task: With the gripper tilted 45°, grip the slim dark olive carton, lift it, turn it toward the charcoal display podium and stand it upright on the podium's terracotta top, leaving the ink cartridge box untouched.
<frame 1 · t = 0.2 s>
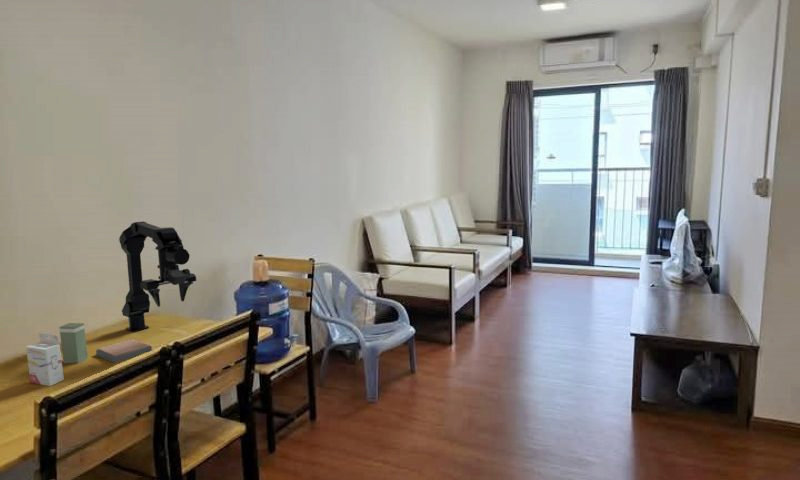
hand: (170, 303, 194), 15 cm above the table, tool pointing down, fingers open, 9 cm apart
display podium: (124, 353, 185), on the table
ink cartridge box: (47, 382, 161), on the table
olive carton: (75, 360, 179), on the table
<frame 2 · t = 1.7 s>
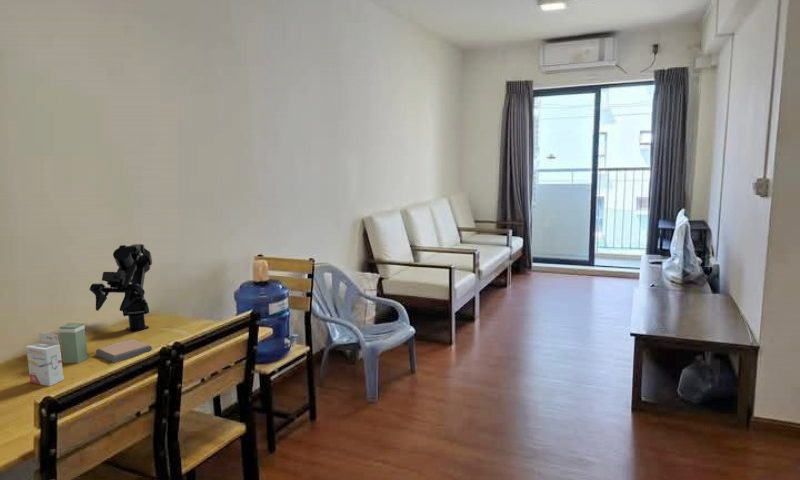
hand: (108, 310, 190), 14 cm above the table, tool tilted 45°, fingers open, 9 cm apart
nothing on the table moved.
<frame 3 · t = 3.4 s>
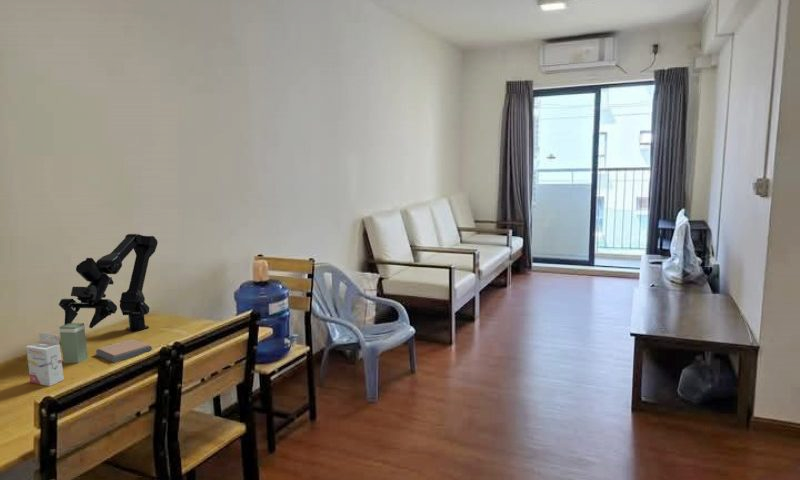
hand: (77, 327, 180), 11 cm above the table, tool tilted 45°, fingers open, 9 cm apart
nothing on the table moved.
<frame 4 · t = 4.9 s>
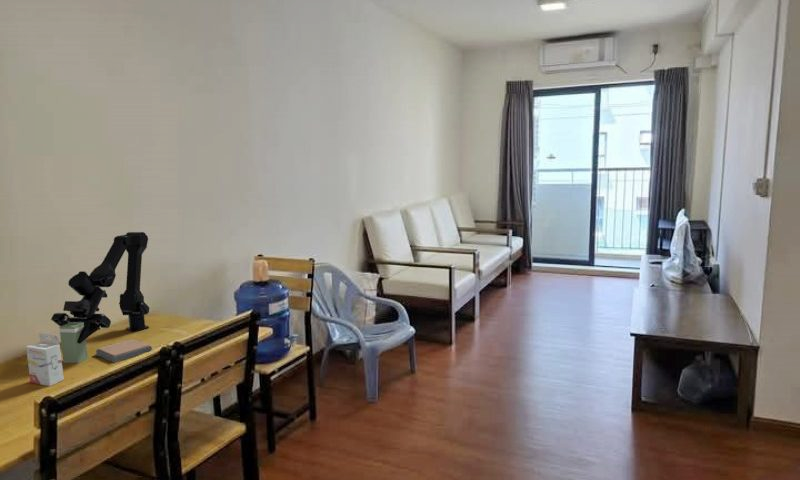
hand: (70, 342, 176), 7 cm above the table, tool tilted 45°, fingers closed on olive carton, 5 cm apart
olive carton: (75, 360, 179), on the table, touching gripper
everything else where it was.
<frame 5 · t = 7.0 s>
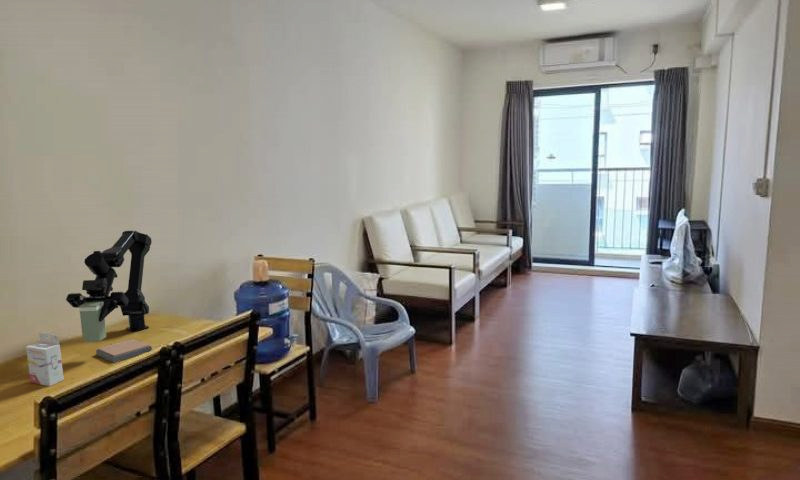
hand: (90, 321, 178), 13 cm above the table, tool tilted 45°, fingers closed on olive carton, 5 cm apart
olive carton: (95, 339, 180), point 7 cm above the table, touching gripper
everything else where it was.
when the fingers open (10 cm above the table, at t = 9.0 s): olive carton stays where it is, resting on display podium.
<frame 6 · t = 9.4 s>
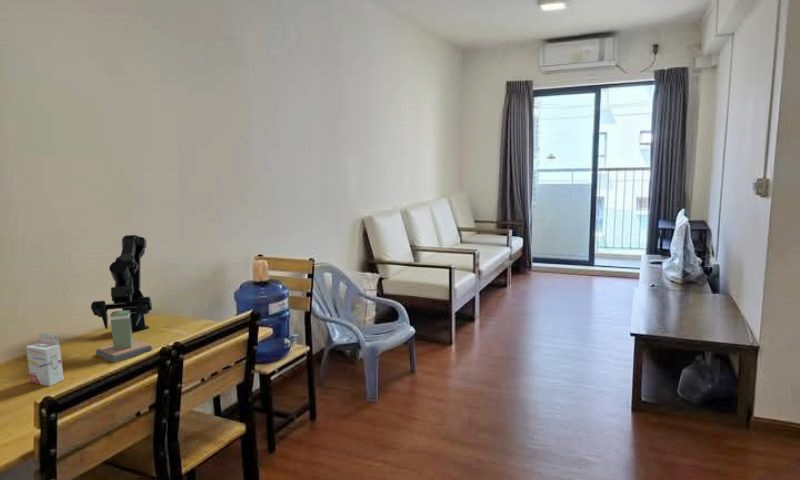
hand: (120, 327, 182), 10 cm above the table, tool tilted 45°, fingers open, 9 cm apart
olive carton: (123, 346, 185), point 2 cm above the table, touching display podium
everything else where it was.
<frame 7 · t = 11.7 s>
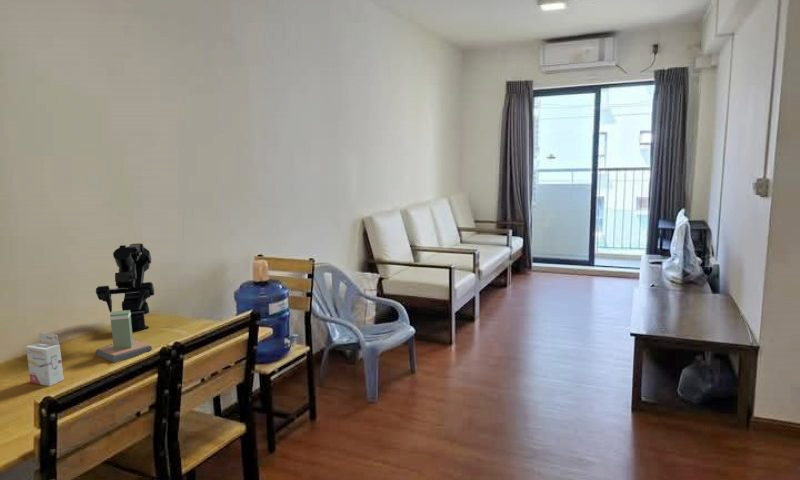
hand: (124, 310, 190), 13 cm above the table, tool tilted 45°, fingers open, 9 cm apart
nothing on the table moved.
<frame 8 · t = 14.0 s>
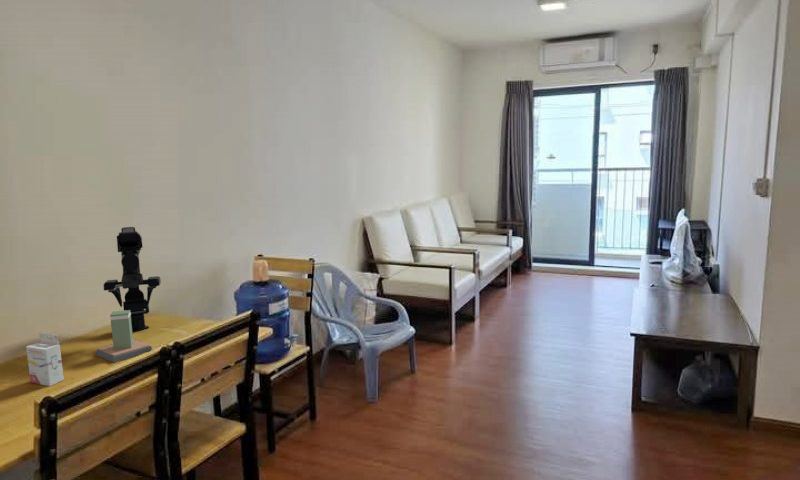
hand: (134, 305, 199), 13 cm above the table, tool pointing down, fingers open, 9 cm apart
nothing on the table moved.
at the end: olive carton inside the target area on the display podium (0.0 cm from its centre), point 2.3 cm above the display podium's base; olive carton tilted 0°; the gripper is holding nothing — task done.
